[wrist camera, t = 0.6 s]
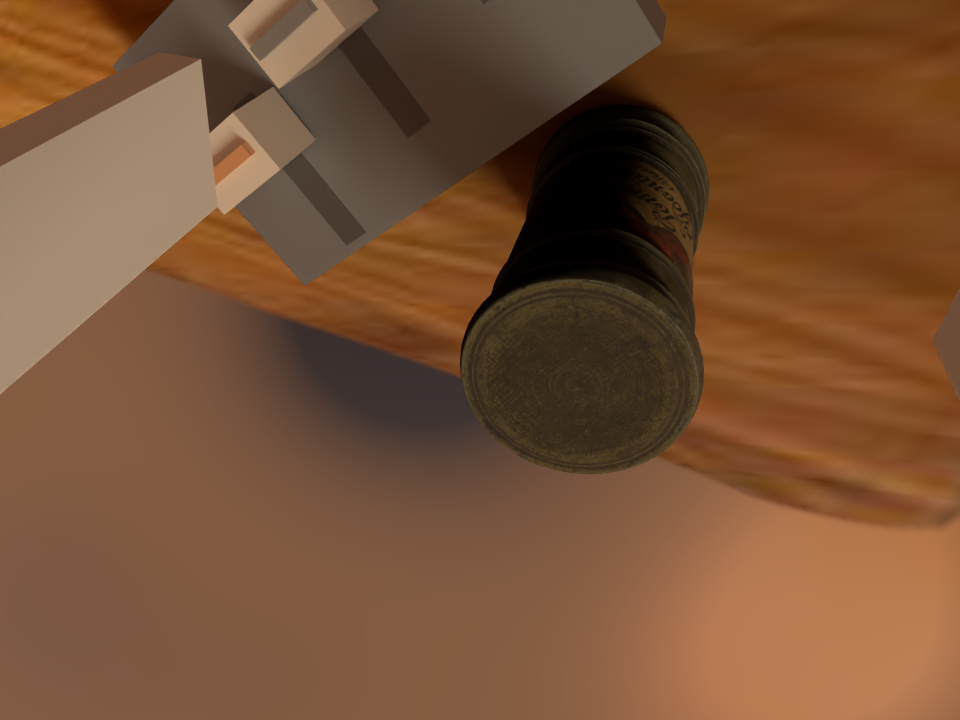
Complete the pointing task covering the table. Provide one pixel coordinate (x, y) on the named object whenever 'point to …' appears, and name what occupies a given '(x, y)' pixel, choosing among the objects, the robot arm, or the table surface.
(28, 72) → the table surface
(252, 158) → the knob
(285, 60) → the knob mid
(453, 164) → the switch unit
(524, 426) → the container
